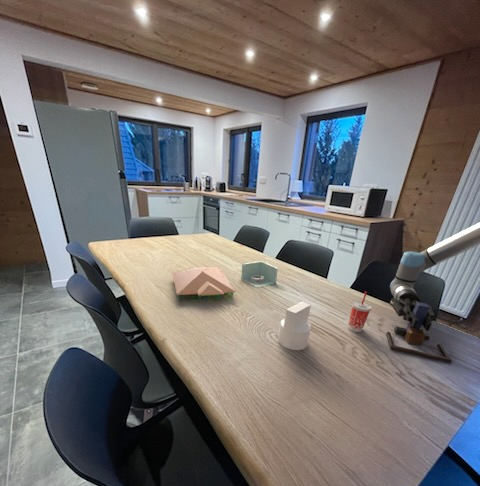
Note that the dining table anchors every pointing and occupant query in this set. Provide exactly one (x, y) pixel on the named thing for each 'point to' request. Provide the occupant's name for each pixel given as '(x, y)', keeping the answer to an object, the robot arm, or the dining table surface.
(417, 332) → the orange brown cube
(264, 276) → the right angle wall
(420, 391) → the dining table surface
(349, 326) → the beverage cup
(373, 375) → the dining table surface
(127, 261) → the dining table surface
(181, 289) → the house
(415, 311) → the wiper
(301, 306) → the base with upright slab
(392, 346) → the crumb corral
